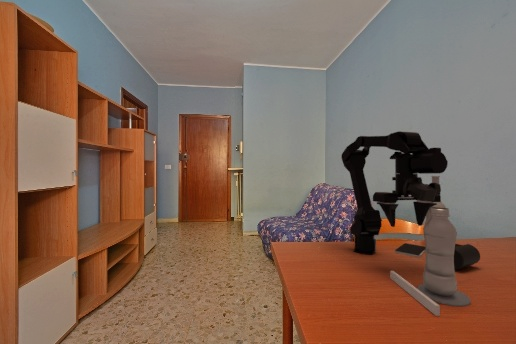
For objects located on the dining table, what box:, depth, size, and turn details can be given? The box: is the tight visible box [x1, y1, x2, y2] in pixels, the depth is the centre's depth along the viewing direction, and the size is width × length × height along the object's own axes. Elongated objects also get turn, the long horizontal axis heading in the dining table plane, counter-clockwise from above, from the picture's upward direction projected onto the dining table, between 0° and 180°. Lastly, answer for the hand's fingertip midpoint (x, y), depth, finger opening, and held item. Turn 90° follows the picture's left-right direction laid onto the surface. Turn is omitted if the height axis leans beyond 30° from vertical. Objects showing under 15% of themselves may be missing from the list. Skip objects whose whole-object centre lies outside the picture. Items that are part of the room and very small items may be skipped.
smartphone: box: [394, 242, 426, 258], centre depth 92 cm, size 8×1×15 cm
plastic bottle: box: [422, 207, 458, 296], centre depth 58 cm, size 6×7×20 cm
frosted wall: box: [389, 270, 441, 317], centre depth 58 cm, size 18×1×2 cm, turn 178°
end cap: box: [454, 243, 481, 271], centre depth 76 cm, size 10×7×7 cm
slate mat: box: [416, 283, 472, 307], centre depth 58 cm, size 10×10×1 cm
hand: (406, 226), depth 73 cm, fingers open, 9 cm apart
